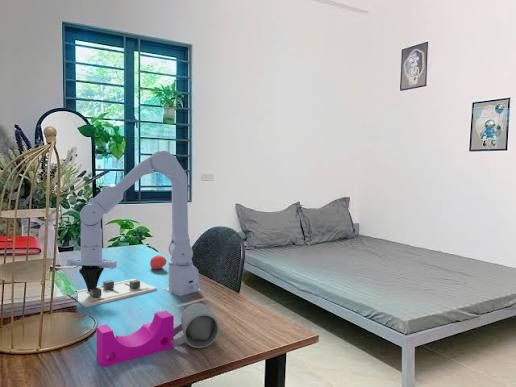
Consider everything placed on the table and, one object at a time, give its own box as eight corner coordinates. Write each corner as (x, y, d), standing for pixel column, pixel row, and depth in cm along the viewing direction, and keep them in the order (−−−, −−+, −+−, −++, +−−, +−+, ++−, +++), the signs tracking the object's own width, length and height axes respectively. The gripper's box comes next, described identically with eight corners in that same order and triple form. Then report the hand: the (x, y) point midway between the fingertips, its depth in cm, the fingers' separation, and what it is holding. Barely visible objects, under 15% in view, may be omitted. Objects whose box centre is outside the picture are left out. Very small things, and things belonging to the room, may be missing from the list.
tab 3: (140, 287, 121) (140, 281, 121) (132, 289, 119) (132, 282, 119) (136, 285, 123) (136, 279, 122) (129, 287, 121) (129, 281, 121)
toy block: (161, 338, 90) (161, 307, 89) (173, 349, 85) (173, 315, 84) (93, 358, 80) (92, 322, 80) (102, 370, 76) (102, 333, 75)
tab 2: (113, 287, 120) (113, 281, 120) (106, 289, 119) (106, 283, 118) (110, 286, 122) (110, 280, 122) (103, 287, 120) (103, 281, 120)
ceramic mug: (211, 326, 94) (210, 296, 92) (219, 345, 86) (218, 312, 85) (166, 335, 90) (164, 304, 89) (170, 354, 82) (168, 321, 81)
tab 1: (101, 295, 113) (101, 288, 113) (93, 297, 111) (93, 290, 111) (98, 294, 114) (98, 287, 114) (90, 296, 113) (90, 289, 112)
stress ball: (153, 275, 141) (153, 258, 140) (148, 269, 149) (148, 253, 148) (167, 273, 143) (167, 256, 143) (161, 267, 151) (161, 251, 151)
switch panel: (156, 292, 122) (156, 287, 122) (85, 310, 106) (85, 304, 106) (134, 282, 131) (134, 277, 131) (65, 298, 115) (65, 292, 115)
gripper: (121, 243, 116) (122, 288, 117) (77, 241, 119) (78, 285, 120) (108, 248, 109) (109, 296, 110) (62, 246, 112) (62, 292, 113)
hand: (92, 291), depth 114 cm, fingers closed
